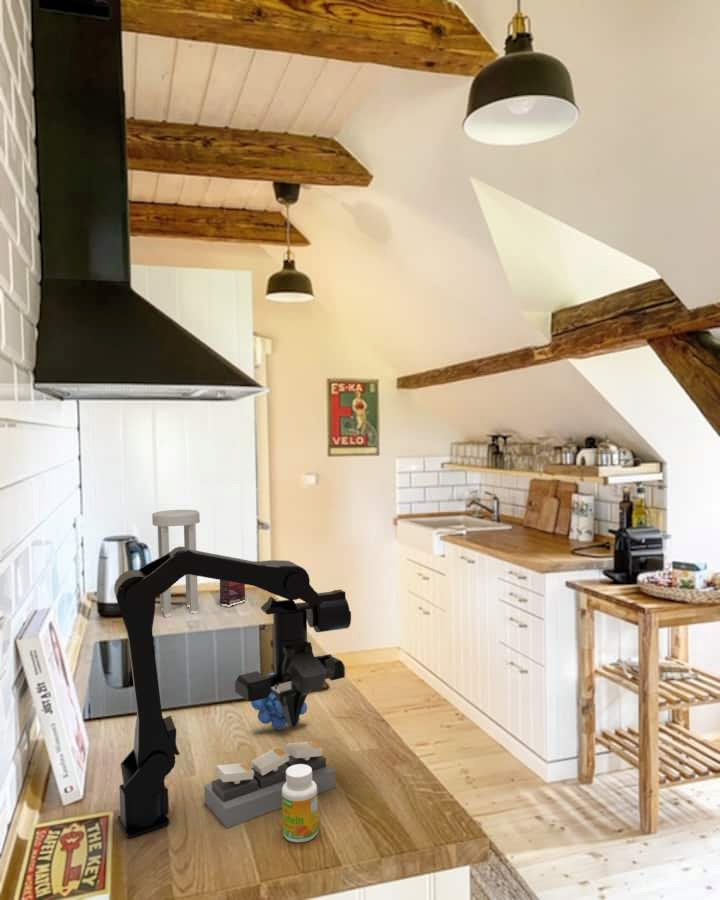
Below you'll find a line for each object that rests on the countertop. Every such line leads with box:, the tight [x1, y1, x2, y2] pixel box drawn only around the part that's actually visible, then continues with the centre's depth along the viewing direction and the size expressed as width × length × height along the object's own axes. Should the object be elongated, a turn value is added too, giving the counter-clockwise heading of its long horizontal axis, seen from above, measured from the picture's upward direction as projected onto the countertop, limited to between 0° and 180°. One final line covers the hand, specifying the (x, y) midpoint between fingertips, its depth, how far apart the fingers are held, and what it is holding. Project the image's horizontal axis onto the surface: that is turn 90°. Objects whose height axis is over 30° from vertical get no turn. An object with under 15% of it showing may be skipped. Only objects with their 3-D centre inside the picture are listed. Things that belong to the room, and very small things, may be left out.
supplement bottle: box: [281, 764, 319, 843], centre depth 104 cm, size 5×5×10 cm
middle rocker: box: [250, 745, 289, 776], centre depth 115 cm, size 5×4×2 cm
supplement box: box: [219, 580, 246, 605], centre depth 246 cm, size 9×5×16 cm, turn 147°
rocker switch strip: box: [203, 754, 337, 829], centre depth 115 cm, size 20×9×4 cm, turn 124°
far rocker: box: [284, 741, 323, 760], centre depth 119 cm, size 5×4×2 cm
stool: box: [151, 509, 201, 615], centre depth 238 cm, size 16×16×35 cm
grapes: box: [250, 672, 308, 731], centre depth 140 cm, size 12×7×12 cm, turn 109°
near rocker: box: [214, 762, 254, 784], centre depth 111 cm, size 5×4×2 cm
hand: (292, 725), depth 117 cm, fingers closed
